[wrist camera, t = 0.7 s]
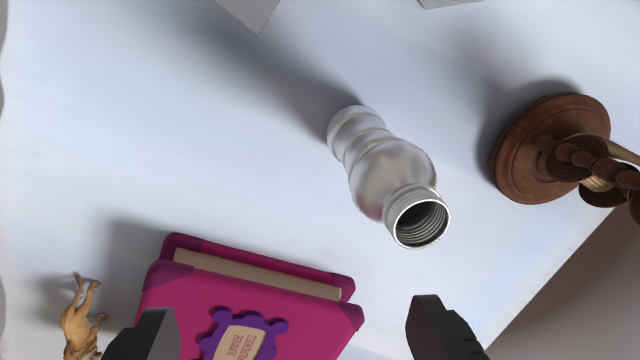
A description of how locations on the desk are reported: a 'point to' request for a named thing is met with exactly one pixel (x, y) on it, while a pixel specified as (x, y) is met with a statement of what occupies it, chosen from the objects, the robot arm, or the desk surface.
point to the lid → (250, 11)
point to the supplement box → (444, 3)
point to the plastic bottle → (388, 177)
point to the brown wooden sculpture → (565, 155)
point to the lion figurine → (81, 327)
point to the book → (249, 303)
